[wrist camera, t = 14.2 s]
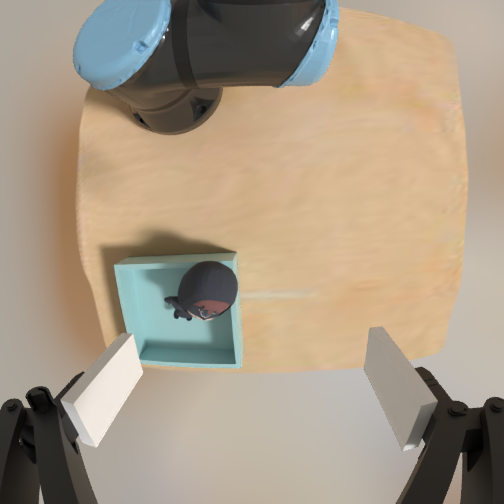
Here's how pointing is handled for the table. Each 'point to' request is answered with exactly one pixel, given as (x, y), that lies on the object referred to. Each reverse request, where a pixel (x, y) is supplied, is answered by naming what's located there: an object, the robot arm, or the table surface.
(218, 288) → the toy
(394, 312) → the table surface
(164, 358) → the bin
